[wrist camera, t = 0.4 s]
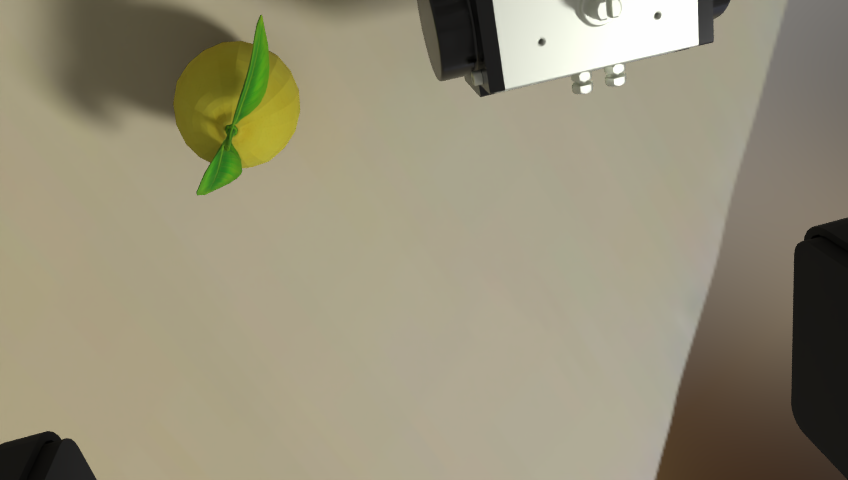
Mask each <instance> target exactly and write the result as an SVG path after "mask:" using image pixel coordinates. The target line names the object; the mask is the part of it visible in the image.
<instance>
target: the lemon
mask: <svg viewBox="0 0 848 480" xmlns="http://www.w3.org/2000/svg"><path fill="white" fill-rule="evenodd" d="M173 105H174V111H175V118H176V124H177V127H178V129H179V131H180V133H181V135H182V137H183V139H184V141H185V143H186V144H187V145H188V146H189V147H190V148H191V149H192V150H193V151H194V152H195V153H196V154H197V155H198V156H199V157H200V158H202V159H204V160H206V161H208V162H210V165H209V167H208V168H207V170H206V172H205V173H204V176H203V178H202V180H201V183H200V185H199V188H198V190H197V195H206V194H208V193H210V192H212V191H214V190H216V189H218V188H221V187H223V186H225V185H227V184H229V183H230V182H232V181H234V180H235V179H237V178H238V177H239V176H240V175H241V173H242V168H249V167H253V166H256V165H259V164H262V163H265V162H268V161H270V160H271V159H272V158H273V157H274V156H276V155H277V154H278V153H279V152H280V151H281V150H282V149H284V148H285V146H286V145H287V143H288V141H289V140H290V138H291V137H292V135H293V134H294V132H295V130H296V126H297V121H298V117H299V113H300V101H299V90H298V87H297V85H296V83H295V80H294V78H293V76H292V73H291V71H290V70H289V69H288V67H287V66H286V65H285V64H284V63H283V62H282V60H281V59H280V58H279V57H278V56H277V55H275V54H274V53H272V52H270V51H268V42H267V38H266V33H265V28H264V23H263V17H262V15H260V17H259V20H258V22H257V26H256V31H255V36H254V43H253V44H251V43H247V42H243V41H236V42H222V43H220V44H217V45H215V46H213V47H211V48H208V49H206V50H204V51H202V52H201V53H200V54H199V55H198V56H197V57H195V58H194V59H193V60H192V61H191V62H189V63H188V65H187V66H186V68H185V70H184V71H183V73H182V74H181V76H180V77H179V79H178V81H177V84H176V90H175V96H174V102H173Z"/></svg>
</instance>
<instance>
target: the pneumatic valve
mask: <svg viewBox="0 0 848 480" xmlns="http://www.w3.org/2000/svg"><path fill="white" fill-rule="evenodd" d="M729 2H730V0H417V3H418V10H419V16H420V21H421V26H422V31H423V35H424V40H425V44H426V48H427V52H428V55H429V59H430V62H431V65H432V68H433V70H434V73H435V75H436V77H437V79H438V80H439V81H446V80H450V79H454V78H459V77H463V76H464V77H465V81H466V82H467V83H468V84H469V85H470V86H471V87H472V88H473V90H474V91H475V92H476V93H477V94H478V95H479V96H480V97H483V96H487V95H491V94H496V93H500V92H504V91H509V90H513V89H517V88H522V87H526V86H530V85H534V84H539V83H543V82H547V81H552V80H556V79H560V78H565V77H569V76H571V80H572V81H573V82H574V83H573V85H572V91H573V93H575V94H585V93H589V92H591V91H592V90H593V81H588V80H590V79H591V78H592V71H595V70H599V69H603V68H604V71H605V73H606V74H608V75H606V77H605V83H606V85H607V86H620V85H623V84H625V83H626V73H622V72H624V71H625V63H629V62H634V61H638V60H642V59H647V58H651V57H655V56H659V55H664V54H668V53H672V52H677V51H681V50H685V49H689V48H691V47H695V46H699V45H704V44H708V43H712V42H713V41H714V35H713V19H715V18H717V17H718V16H720V15H721V14H722V13H723V12H724V11H725V10H726V8H727V6H728V4H729Z"/></svg>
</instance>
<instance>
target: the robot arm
mask: <svg viewBox="0 0 848 480" xmlns="http://www.w3.org/2000/svg"><path fill="white" fill-rule="evenodd" d="M792 345H793V346H792V347H793V348H792V396H791V405H792V411H793V415H794V418H795V420H796V422H797V424H798V426H799V427H800V429H801V430H802V432H803V433H804V434H805V435H806V436H807V437H808V438H809V439H810V440H811V441H812V442H813V444H815V446H816V447H817V448H818V449H819V450H820V451H821V452H822V453H823V454H824V455H825V456H826V457H827V458H828V459H829V460H830V461H831V463H833V465H834V466H835V467H836V468H837V469H838V470H839V471H840V472H841V473H842V474H843V475H844V476H845V477H846V478H847V480H848V218H844V219H840V220H837V221H833V222H829V223H826V224H822V225H818V226H814V227H812V228H810V229H809V230H808V231H807V233H806V235H805V237H804V241H802V242H800V243H798V244H797V246H796V248H795V253H794V293H793V344H792ZM0 480H96V478H95V476H94V474H93V472H92V471H91V469H90V467H89V465H88V463H87V462H86V460H85V458H84V456H83V454H82V453H81V451H80V449H79V447H78V446H77V444H76V443H75V442H74V441H73V440H72V439H67V438H66V439H63V440H61V438H60V437H59V436H58V435H57V434H55V433H54V432H50V431H47V432H43V433H39V434H35V435H32V436H28V437H24V438H20V439H17V440H13V441H9V442H5V443H3V444H1V445H0Z"/></svg>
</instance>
